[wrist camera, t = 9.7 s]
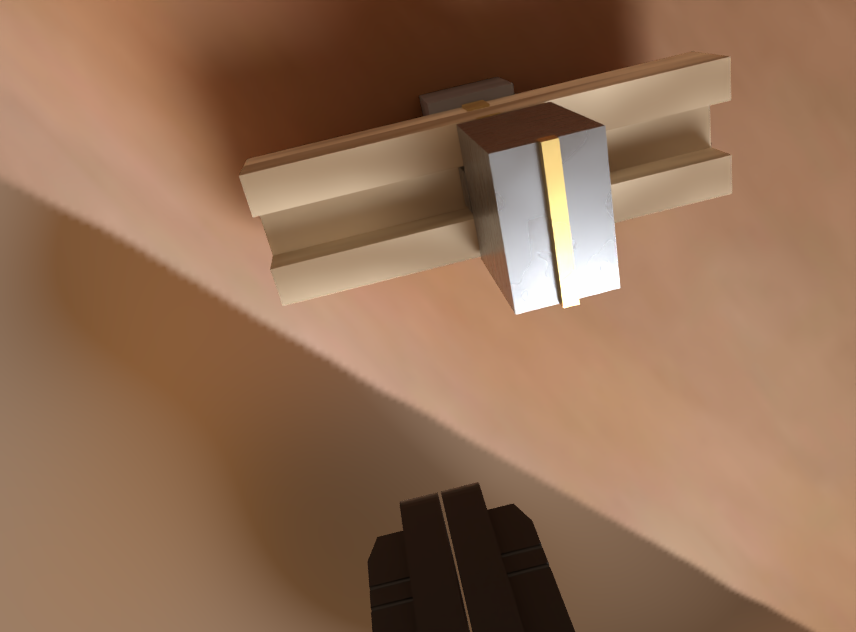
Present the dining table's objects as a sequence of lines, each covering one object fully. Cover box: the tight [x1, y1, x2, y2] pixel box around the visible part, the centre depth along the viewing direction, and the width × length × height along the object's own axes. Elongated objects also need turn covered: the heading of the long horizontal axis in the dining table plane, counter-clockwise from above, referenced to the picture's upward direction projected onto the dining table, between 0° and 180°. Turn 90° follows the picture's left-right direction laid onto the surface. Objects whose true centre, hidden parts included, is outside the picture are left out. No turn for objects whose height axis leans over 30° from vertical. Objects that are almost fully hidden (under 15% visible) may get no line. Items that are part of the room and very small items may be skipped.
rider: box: [456, 102, 620, 314], centre depth 27 cm, size 6×4×8 cm, turn 12°
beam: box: [239, 52, 732, 306], centre depth 32 cm, size 7×21×6 cm, turn 102°
